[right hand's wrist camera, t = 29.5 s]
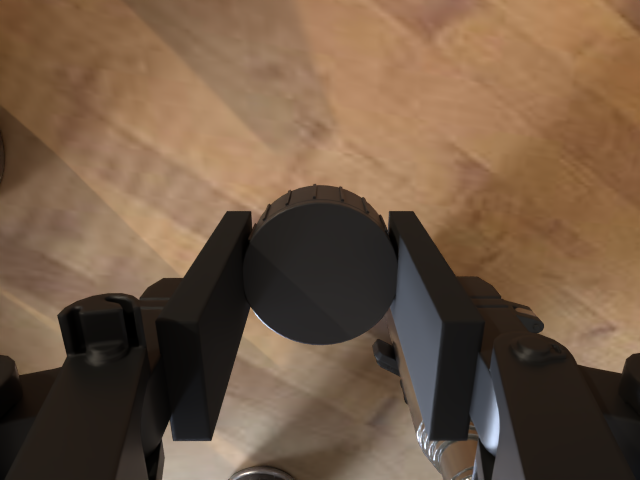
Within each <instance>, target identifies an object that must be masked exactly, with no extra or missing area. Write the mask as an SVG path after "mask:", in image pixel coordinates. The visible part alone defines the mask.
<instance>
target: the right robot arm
mask: <svg viewBox="0 0 640 480" xmlns="http://www.w3.org/2000/svg"><path fill="white" fill-rule="evenodd" d="M3 170H4V147H3V142H2V137H1V134H0V182H1V179H2V175H3ZM251 231H252V217H251V211H227V212H226V214H225V215H224V217H223V218H222V220H221V221H220V223H219V224H218V226H217V227H216V229H215V230H214V232H213V233H212V235H211V236H210V238H209V240H208V241H207V243H206V244H205V246H204V247H203V249H202V250H201V252H200V253H199V255H198V256H197V258H196V259H195V261H194V262H193V264H192V266H191V267H190V269H189V270H188V272H187V273H186V275H185V276H184V278H163V279H161V280H159V281H158V282H156V283H154V284H153V285H151V286H149V287H148V288H147V289H146V290H145V292H144V293H143V294H142V296H141V297H140V298H139V300H138V299H137V298H135V297H134V296H132V295H127V294H123V293H107V294H101V295H96V296H91V297H88V298H85V299H82V300H79V301H77V302H75V303H73V304H71V305H69V306H67V307H65V308H64V309H63V310H62V311H61V312H60V313H59V314H58V315H57V316H58V320H59V324H60V328H61V333H62V337H63V341H64V345H65V349H66V354H67V358H66V360H65V362H64V364H63V366H62V367H59V368H55V369H51V370H46V371H40V372H35V373H30V374H25V375H19V374H18V371H17V367H16V364H15V361H14V360H12V359H11V358H10V357H9V356H4V355H0V480H162V475H163V467H164V459H165V457H164V450H163V444H162V436H163V434H164V432H165V429H166V427H167V425H168V422H169V420H170V424H171V431H172V437H173V441H211V440H212V437H213V433H214V430H215V426H216V423H217V420H218V416H219V413H220V409H221V406H222V402H223V399H224V396H225V392H226V389H227V385H228V382H229V378H230V375H231V372H232V368H233V365H234V361H235V358H236V354H237V351H238V348H239V344H240V341H241V337H242V334H243V331H244V327H245V324H246V320H247V317H248V313H249V310H250V307H251V306H250V304H249V302H248V300H247V298H246V295H245V292H244V281H243V259H244V255H245V252H246V249H247V247H248V244H249V242H247V241H248V238H249V236H250V234H251ZM388 235H389V237H390V240H391V242H392V245H393V247H394V250H395V253H396V256H397V260H398V270H397V285H396V295H395V297H394V300H393V302H392V304H391V306H390V309H391V312H392V316H393V319H394V323H395V326H396V330H397V333H398V336H399V340H400V343H401V347H402V350H403V354H404V357H405V360H406V364H407V367H408V371H409V374H410V377H411V381H412V384H413V388H414V391H415V395H416V398H417V401H418V405H419V408H420V412H421V415H422V419H423V422H424V425H425V429H426V432H427V436H428V439H429V441H467V439H468V433H469V426H470V419H472V422H473V424H474V426H475V429H476V431H477V433H478V436H479V437H478V444H477V450H476V456H475V462H474V468H473V474H472V480H640V353H637V354H632V355H631V356H630V357H628V358H627V359H626V362H625V365H624V369H623V372H622V374H621V373H616V372H611V371H605V370H600V369H595V368H589V367H585V366H581V365H577V363H576V361H575V359H574V357H573V355H572V354H571V353H570V352H569V351H568V349H567V348H566V347H564V346H563V345H561V344H560V343H558V342H557V341H555V340H553V339H551V338H548V337H546V336H543V335H540V334H536V333H531V332H529V331H528V330H527V329H526V327H525V326H524V325H523V323H522V322H521V321H520V320H519V318H518V317H517V316H516V315H515V313H514V312H513V311H512V310H511V308H508V305H507V303H506V302H505V301H504V300H503V299H501V296H500V295H499V293H498V292H497V291H496V290H495V288H494V287H493V286H492V285H490V284H489V283H487V282H485V281H484V280H482V279H480V278H479V277H456V276H455V274H454V273H453V271H452V270H451V268H450V267H449V265H448V264H447V262H446V260H445V259H444V257H443V256H442V254H441V253H440V251H439V250H438V248H437V247H436V245H435V244H434V242H433V241H432V239H431V238H430V236H429V234H428V233H427V231H426V230H425V228H424V227H423V225H422V224H421V222H420V221H419V219H418V218H417V216H416V215H415V213H414V212H413V211H389V222H388Z"/></svg>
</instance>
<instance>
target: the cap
mask: <svg viewBox="0 0 640 480" xmlns="http://www.w3.org/2000/svg"><path fill="white" fill-rule="evenodd" d="M247 242H249V244H248V247H247V249H246V252H245V255H244V259H243V281H244V292H245V295H246V298H247V300H248V302H249V304H250V306H251V308H252V309H253V311H254V312H255V314H256V315H257V316H258V318H259V319H260V320H261V321H262V322H263V323H264V324H265V325H266V326H268V327H269V328H270V329H272V330H273V331H274V332H276V333H278V334H279V335H281V336H283V337H285V338H288V339H290V340H293V341H296V342H300V343H304V344H311V345H329V344H336V343H341V342H345V341H348V340H351V339H353V338H355V337H358V336H360V335H361V334H363V333H365V332H366V331H368V330H369V329H371V328H372V327H373V326H374V325H376V324H377V323H378V322H379V321H380V320H381V319H382V317H383V316H384V315H385V313H386V312H387V311H388V309H389V307H390V306H391V304H392V302H393V300H394V297H395V295H396V285H397V270H398V260H397V256H396V253H395V250H394V247H393V245H392V242H391V240H390V237H389V235H388V230H387V227H386V225H385V222H384V220H383V218H382V216H381V214H380V215H378V213H377V212H376V211H375V210H374V208H373V207H372V206H371V205H370V204H369V203H367V202H366V200H365V198H364V197H363V198H361V197H359V196H358V195H356V194H354V193H352V192H350V191H348V190H345V189H342V187H339V188H338V187H333V186H324V185H316V184H313V186H307V187H303V188H299V189H296V190H293V191H291V190H289V191H288V193H287V194H285V195H283V196H281V197H280V198H278V199H277V200H276V201H274V202H273V203H272V204H271V205H270V204H268V206H267V208H266V210H265V212H264V213H263V214H262V216H261V217H260V219H259V221H258V223H257V224H256V223H255V224H254V227H253V229H252V231H251V234H250V236H249V238H248V241H247Z"/></svg>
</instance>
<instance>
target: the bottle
mask: <svg viewBox="0 0 640 480" xmlns="http://www.w3.org/2000/svg"><path fill="white" fill-rule="evenodd" d="M384 316H385V320H386V323H387V327H388V331H389V335H390V338H391V342H392V346H393V350H394V353H395V357H396V361H397V365H398V368H399V372H400V376H401V380H402V383H403V387H404V391H405V394H406V398H407V402H408V406H409V409H410V413H411V417H412V421H413V424H414V428H415V432H416V436H417V439H418V443H419V445H420V447H421V448H422V451H423V453H424V454H425V455H426V457H427V458H428V459H429V460H430V462H431V463H432V464H433V465H434V467H435V468H436V469H437V470H438V471H439V473H441V474H442V477H443V480H472V474H473V468H474V462H475V456H476V450H477V444H478V437H479V436H478V433H477V431H476V429H475V426H474V424H473V422H472V419H470V426H469V433H468V439H467V441H429V439H428V436H427V432H426V429H425V425H424V422H423V419H422V415H421V412H420V408H419V405H418V401H417V398H416V395H415V391H414V388H413V384H412V381H411V377H410V374H409V371H408V367H407V364H406V360H405V357H404V354H403V350H402V347H401V343H400V340H399V336H398V333H397V330H396V326H395V323H394V319H393V316H392V312H391V309H390V307H389V309H388V311H387V312H386V313H385V315H384Z"/></svg>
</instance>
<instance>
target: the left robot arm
mask: <svg viewBox="0 0 640 480" xmlns="http://www.w3.org/2000/svg"><path fill="white" fill-rule="evenodd" d="M504 301H505V300H504ZM505 302H506V303H507V305H508V308H511V310H512V311H513V312H514V313H515V315H516V316H517V317H518V318H519V320H520V321H521V322H522V323H523V325H524V326H525V327H526V329H527V330H528V331H529V332H531V333H539V332H541V331H542V330H543V328H544V324H543V322H542V321H541V320H540V319H539V318H538V317H537V316H536V314H535V313H534V312H533V311H532V310H531V309H530V308H529V307H528V306H524V305H520V304H517V303H513V302H509V301H505ZM372 347H373V352H374V356H375V357H376V360H377V363H378V364H379V366H380V367H382V368H384V369H387V370H388V371H391V372H392V373H394V374H396V375H398V376H400V372H399V368H398V365H397V361H396V357H395V353H394V350H393V346H392V345H390V344H388V343H386V342H384V341H382V340H380V339H377V340H376V342H375V343H374V344H373V346H372ZM400 377H401V376H400ZM400 384H401V387H402V390H403V394H404V400H405V402H406V404H408V402H407V398H406V394H405V391H404V387H403V383H402V380H400ZM229 480H295V479H294V478H293V477H291V476H290V475H289V474H287V473H285V472H283V471H281V470H279V469H276V468H271V467H263V466H258V467H250V468H246V469H243V470H241V471H239V472H237V473H235V474H234V475H233V476H232V477H230V479H229Z"/></svg>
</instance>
